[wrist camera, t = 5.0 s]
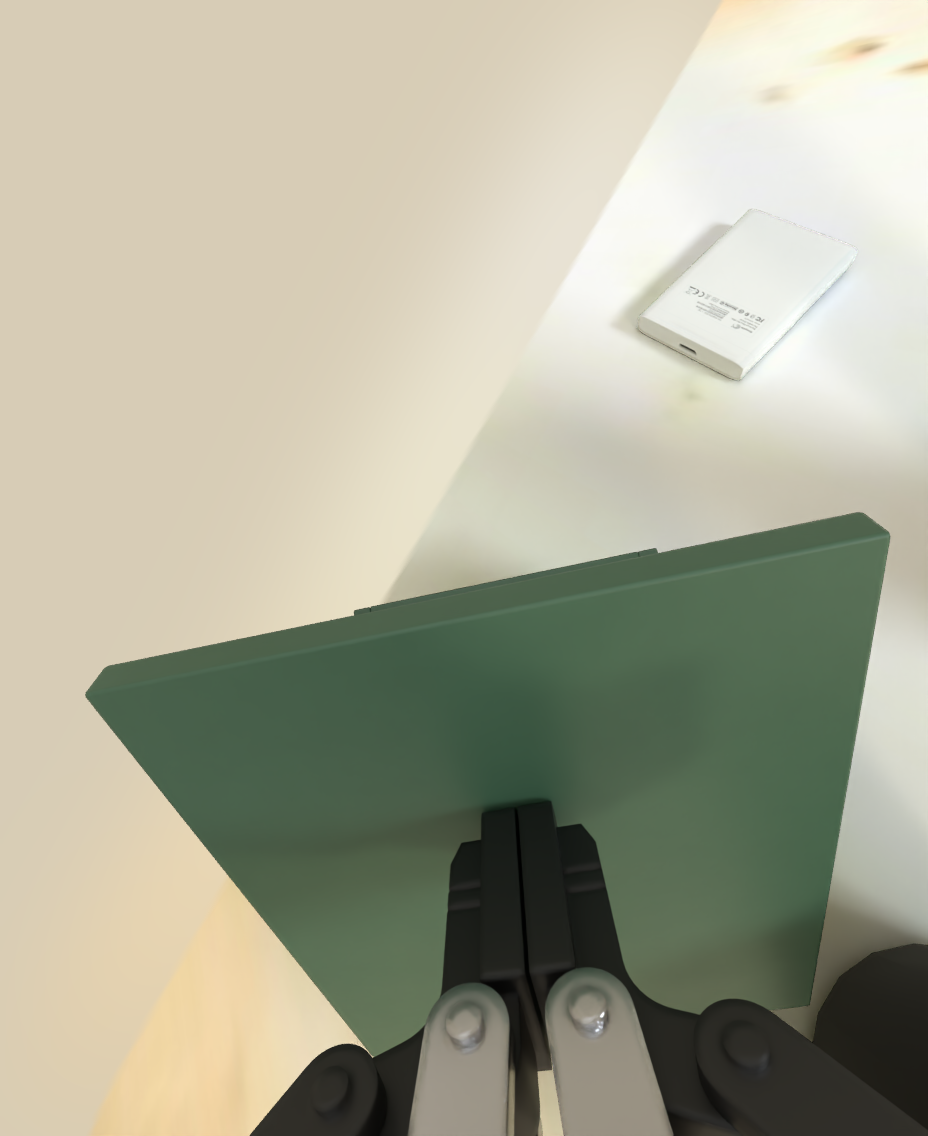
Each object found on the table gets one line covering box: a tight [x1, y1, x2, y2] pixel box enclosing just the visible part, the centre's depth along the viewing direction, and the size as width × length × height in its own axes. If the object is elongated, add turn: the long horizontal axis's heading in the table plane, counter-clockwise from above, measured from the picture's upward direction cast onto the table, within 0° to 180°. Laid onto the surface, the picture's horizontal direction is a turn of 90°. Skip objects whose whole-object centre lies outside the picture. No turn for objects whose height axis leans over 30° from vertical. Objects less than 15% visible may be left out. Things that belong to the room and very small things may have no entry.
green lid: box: [85, 512, 890, 1057], centre depth 14 cm, size 16×14×1 cm
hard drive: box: [637, 209, 858, 380], centre depth 40 cm, size 2×8×12 cm
